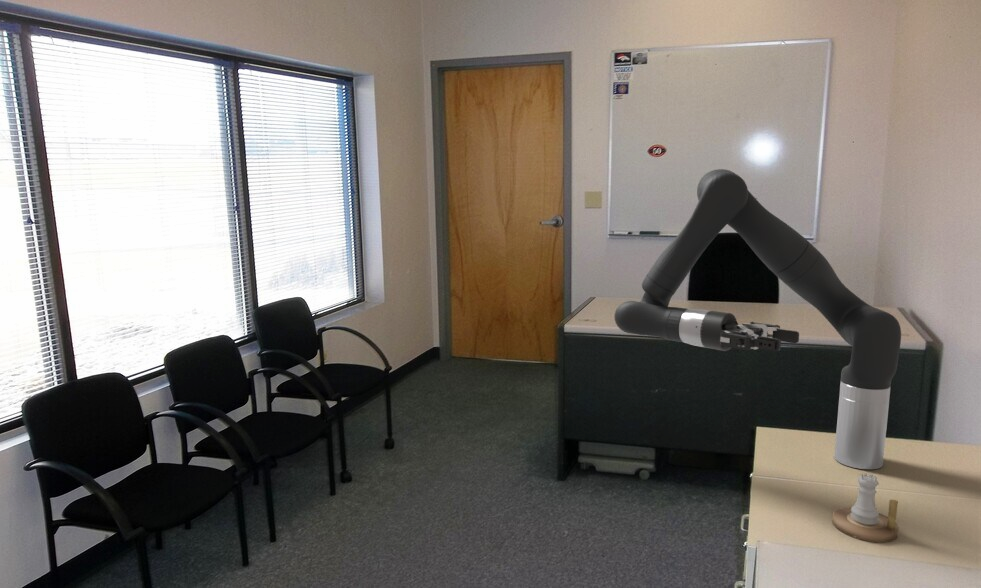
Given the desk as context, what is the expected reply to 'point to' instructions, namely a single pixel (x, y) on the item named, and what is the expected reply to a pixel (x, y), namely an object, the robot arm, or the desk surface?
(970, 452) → the desk surface
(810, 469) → the desk surface
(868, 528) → the handwheel with crank handle
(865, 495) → the rook chess piece
